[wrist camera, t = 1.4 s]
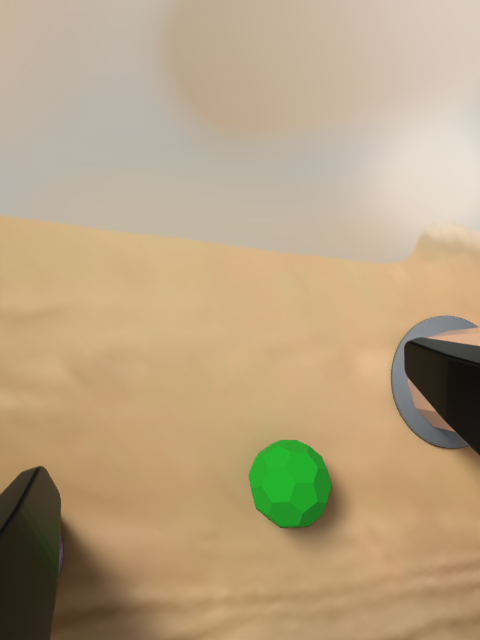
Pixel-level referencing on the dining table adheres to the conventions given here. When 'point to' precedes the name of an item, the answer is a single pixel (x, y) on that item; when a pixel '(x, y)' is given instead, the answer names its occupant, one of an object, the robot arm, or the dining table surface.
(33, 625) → the robot arm
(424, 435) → the rubber mat
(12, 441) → the dining table surface
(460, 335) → the cover cup
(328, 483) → the polyhedron
